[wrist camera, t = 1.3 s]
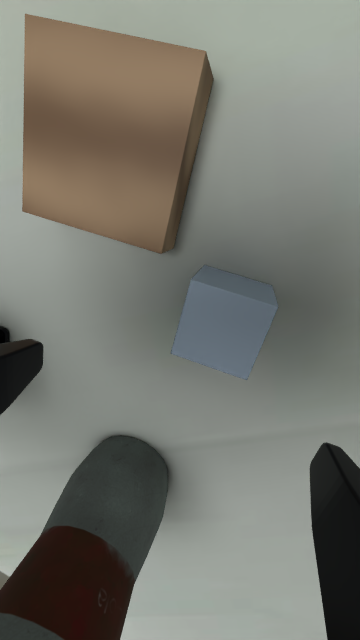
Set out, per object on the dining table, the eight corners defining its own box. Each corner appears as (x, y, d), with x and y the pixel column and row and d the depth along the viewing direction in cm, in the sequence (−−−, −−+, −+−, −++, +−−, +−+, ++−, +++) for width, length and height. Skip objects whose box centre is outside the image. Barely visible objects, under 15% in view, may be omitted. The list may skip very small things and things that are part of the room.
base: (173, 248, 20) (161, 253, 17) (51, 211, 21) (22, 211, 19) (213, 78, 16) (205, 51, 13) (60, 45, 17) (25, 13, 15)
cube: (247, 345, 22) (246, 380, 17) (186, 324, 22) (170, 353, 18) (271, 285, 20) (278, 306, 15) (204, 264, 20) (190, 279, 16)
